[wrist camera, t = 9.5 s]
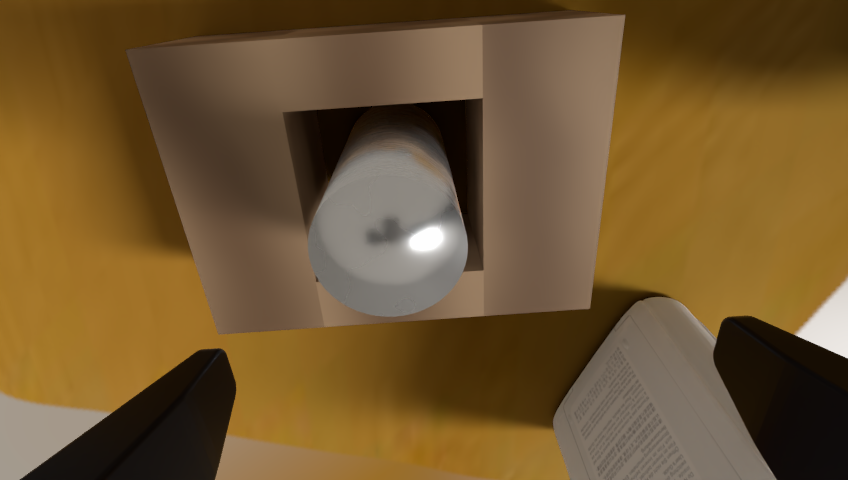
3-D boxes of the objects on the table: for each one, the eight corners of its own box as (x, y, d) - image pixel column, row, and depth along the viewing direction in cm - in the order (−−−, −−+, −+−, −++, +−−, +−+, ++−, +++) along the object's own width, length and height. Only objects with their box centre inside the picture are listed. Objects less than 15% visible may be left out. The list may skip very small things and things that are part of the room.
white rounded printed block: (602, 439, 29) (725, 717, 18) (539, 423, 28) (626, 704, 17) (705, 307, 24) (954, 565, 13) (634, 283, 23) (836, 537, 12)
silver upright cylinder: (445, 191, 21) (469, 311, 13) (355, 197, 21) (322, 321, 13) (441, 97, 19) (465, 169, 11) (342, 105, 19) (293, 181, 11)
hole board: (570, 10, 18) (625, 15, 13) (553, 246, 22) (589, 308, 18) (196, 36, 18) (125, 49, 13) (256, 266, 22) (218, 334, 18)
